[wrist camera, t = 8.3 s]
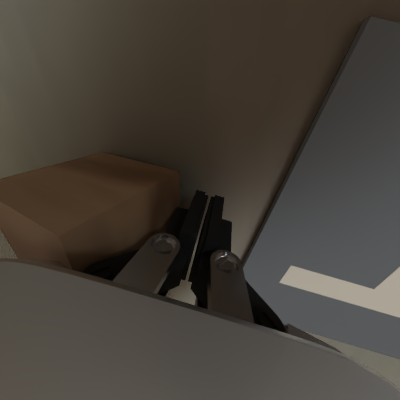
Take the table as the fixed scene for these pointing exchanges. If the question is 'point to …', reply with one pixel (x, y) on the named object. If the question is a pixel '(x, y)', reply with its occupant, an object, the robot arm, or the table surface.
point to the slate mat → (342, 208)
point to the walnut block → (87, 208)
